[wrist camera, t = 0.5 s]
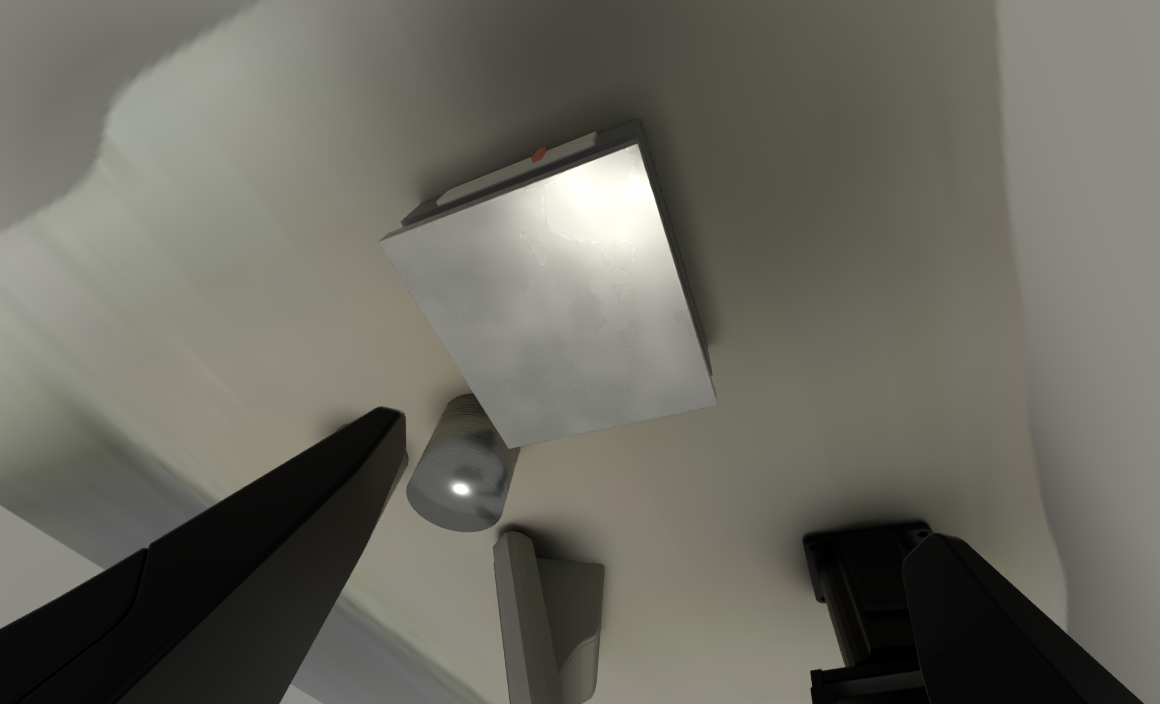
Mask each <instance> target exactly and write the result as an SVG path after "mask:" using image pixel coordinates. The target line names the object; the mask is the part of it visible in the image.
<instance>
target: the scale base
mask: <svg viewBox="0 0 1160 704" xmlns="http://www.w3.org/2000/svg"><path fill="white" fill-rule="evenodd" d="M635 138H638V139H639V142H640V146H641V149H642V152H643V156H644V159H645V162H646V165H647V169H648V172H649V175H650V179H651V182H652V185H653V188H654V192H655V195H656V198H657V201H658V205H659V208H660V211H661V215H662V218H663V221H664V224H665V228H666V231H667V234H668V238H669V241H670V244H671V247H672V251H673V254H674V257H675V261H676V264H677V267H678V270H679V274H680V277H681V280H682V283H683V287H684V290H685V293H686V297H687V300H688V303H689V306H690V310H691V313H692V316H693V320H694V323H695V326H696V329H697V333H698V336H699V339H700V343H701V346H702V349H703V352H704V356H705V359H706V362H707V365H708V369H709V372H710V375H712V369H711V363H710V358H709V352H708V347H707V343H706V340H705V337H704V333H703V330H702V327H701V323H700V320H699V317H698V313H697V310H696V307H695V303H694V300H693V296H692V293H691V290H690V286H689V283H688V280H687V276H686V273H685V270H684V266H683V263H682V259H681V256H680V253H679V249H678V246H677V243H676V239H675V236H674V233H673V229H672V226H671V222H670V219H669V216H668V212H667V209H666V206H665V202H664V199H663V196H662V192H661V189H660V186H659V182H658V179H657V175H656V172H655V169H654V165H653V162H652V159H651V155H650V152H649V149H648V145H647V142H646V138H645V135H644V132H643V128H642V125H641V122H640V118H637V119H634V120H631V121H629V122H626V123H624V124H621V125H619V126H616V127H614V128H611V129H609V130H606V131H604V132H601V133H599V134H597V132H596V131H595V132H593V133H590V134H588V135H585V136H583V137H580V138H578V139H575V140H573V141H570V142H567V143H565V144H562V145H560V146H557V147H555V148H552V149H550V150H546V147H542V148H540V149H537V151H536V152H535V153H534V155H533V156H532V157H530V158H527V159H525V160H522V161H520V162H517V163H515V164H512V165H510V166H507V167H505V168H502V169H500V170H497V171H494V172H492V173H489V174H487V175H484V176H482V177H479V178H477V179H474V180H472V181H469V182H467V183H464V184H462V185H459V186H457V187H454V188H452V189H449V190H448V191H447V192H446V193H445V194H444V195H442V196H439V197H437V198H434V199H432V200H429V201H427V202H424V203H421V204H420V205H419V206H418V207H417V208H416V209H414V210H413V211H412V212H411V213H410V214H409V215H408V216H407V217H405V218H404V219H403V220H402V221H401V224H402V225H403V227H405V226H408V225H411V224H413V223H416V222H419V221H421V220H424V219H426V218H429V217H432V216H434V215H437V214H439V213H442V212H445V211H447V210H450V209H452V208H455V207H458V206H460V205H463V204H466V203H468V202H471V201H473V200H476V199H479V198H481V197H484V196H486V195H489V194H492V193H494V192H497V191H499V190H502V189H505V188H507V187H510V186H513V185H515V184H518V183H520V182H523V181H526V180H528V179H531V178H533V177H536V176H539V175H541V174H544V173H546V172H549V171H552V170H554V169H557V168H559V167H562V166H565V165H567V164H570V163H573V162H575V161H578V160H580V159H583V158H586V157H588V156H591V155H593V154H596V153H599V152H601V151H604V150H606V149H609V148H612V147H614V146H617V145H620V144H622V143H625V142H627V141H630V140H633V139H635Z"/></svg>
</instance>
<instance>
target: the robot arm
mask: <svg viewBox="0 0 1160 704" xmlns="http://www.w3.org/2000/svg"><path fill="white" fill-rule="evenodd" d="M405 450H406V417H405V414H404V412H403V411H401V410H397V409H392V408H388V407H383V406H381V407H377V408H375V409H373V410H372V411H370V412H368V413H367V414H365V415H363V416H362V417H360V418H358V419H357V420H355V421H353V422H352V423H350V424H348V425H347V426H345V427H343V428H342V429H340V430H338V431H337V432H335V433H333V434H332V435H330V436H328V437H327V438H325V439H323V440H322V441H320V442H318V443H317V444H315V445H313V446H312V447H310V448H308V449H307V450H305V451H303V452H302V453H300V454H298V455H297V456H295V457H293V458H292V459H290V460H288V461H287V462H285V463H283V464H282V465H280V466H278V467H277V468H275V469H273V470H272V471H270V472H268V473H267V474H265V475H263V476H262V477H260V478H259V479H257V480H255V481H254V482H252V483H250V484H249V485H247V486H245V487H244V488H242V489H240V490H239V491H237V492H235V493H234V494H232V495H230V496H229V497H227V498H225V499H224V500H222V501H220V502H219V503H217V504H215V505H214V506H212V507H210V508H209V509H207V510H205V511H204V512H202V513H200V514H199V515H197V516H195V517H194V518H192V519H190V520H189V521H187V522H185V523H184V524H182V525H180V526H179V527H177V528H175V529H174V530H172V531H170V532H169V533H167V534H165V535H164V536H162V537H160V538H159V539H157V540H155V541H154V542H152V543H151V544H150V545H149V547H148V549H147V548H142V549H140V550H138V551H137V552H135V553H133V554H132V555H130V556H128V557H127V558H125V559H123V560H122V561H120V562H118V563H117V564H115V565H113V566H112V567H110V568H108V569H107V570H105V571H103V572H101V573H100V574H98V575H96V576H94V577H93V578H91V579H89V580H88V581H86V582H84V583H82V584H81V585H79V586H77V587H75V588H74V589H72V590H70V591H69V592H67V593H65V594H63V595H62V596H60V597H58V598H56V599H55V600H53V601H51V602H49V603H47V604H45V605H43V606H42V607H40V608H38V609H36V610H34V611H32V612H30V613H29V614H27V615H25V616H23V617H21V618H19V619H18V620H16V621H14V622H12V623H10V624H8V625H7V626H4V627H3V628H1V629H0V704H279V703H280V702H281V700H282V698H283V696H284V694H285V693H286V691H287V689H288V687H289V685H290V684H291V682H292V680H293V678H294V676H295V674H296V673H297V671H298V669H299V667H300V665H301V664H302V662H303V660H304V658H305V656H306V655H307V653H308V651H309V649H310V647H311V645H312V644H313V642H314V640H315V638H316V636H317V635H318V633H319V631H320V629H321V627H322V626H323V624H324V622H325V620H326V618H327V617H328V615H329V613H330V611H331V609H332V607H333V606H334V604H335V602H336V600H337V598H338V597H339V595H340V593H341V591H342V589H343V588H344V586H345V584H346V582H347V580H348V578H349V577H350V575H351V573H352V571H353V569H354V568H355V566H356V564H357V562H358V560H359V559H360V557H361V555H362V553H363V551H364V549H365V547H366V545H367V543H368V541H369V539H370V537H371V534H372V532H373V530H374V527H375V525H376V523H377V520H378V518H379V515H380V513H381V511H382V508H383V506H384V503H385V501H386V499H387V496H388V494H389V491H390V489H391V486H392V484H393V482H394V479H395V477H396V474H397V472H398V470H399V467H400V465H401V462H402V460H403V457H404V454H405ZM803 546H804V551H805V555H806V559H807V563H808V568H809V572H810V576H811V581H812V585H813V589H814V593H815V597H816V600H817V601H818V602H820V603H826V604H827V607H828V611H829V614H830V617H831V621H832V624H833V627H834V631H835V634H836V637H837V641H838V644H839V648H840V651H841V654H842V658H843V661H844V664H845V667H843V668H837V669H830V670H824V671H822V670H821V669H817V670H811V671H810V673H811V681H812V687H811V696H812V703H813V704H1144V703H1143V702H1142V701H1141V700H1139V699H1138V698H1137V697H1136V696H1135V695H1134V694H1133V693H1132V692H1130V691H1129V690H1128V689H1127V688H1126V687H1125V686H1124V685H1123V684H1122V683H1121V682H1119V681H1118V680H1117V679H1116V678H1115V677H1114V676H1113V675H1112V674H1111V673H1110V672H1108V671H1107V670H1106V669H1105V668H1104V667H1103V666H1102V665H1101V664H1099V663H1098V662H1097V661H1096V660H1095V659H1094V658H1093V657H1092V656H1091V655H1090V654H1089V653H1087V652H1086V651H1085V650H1084V649H1083V648H1082V647H1081V646H1079V644H1078V643H1076V642H1075V641H1074V640H1073V639H1072V638H1071V637H1070V636H1069V635H1068V634H1066V633H1065V632H1064V631H1063V630H1062V629H1061V628H1060V627H1059V626H1058V625H1057V624H1055V623H1054V622H1053V621H1052V620H1051V619H1050V618H1049V617H1048V616H1047V615H1045V614H1044V613H1043V612H1042V611H1041V610H1040V609H1039V608H1038V607H1037V606H1036V605H1034V604H1033V603H1032V602H1031V601H1030V600H1029V599H1028V598H1027V597H1026V596H1024V595H1023V594H1022V593H1021V592H1020V591H1019V590H1018V589H1017V588H1016V587H1015V586H1013V585H1012V584H1011V583H1010V582H1009V581H1008V580H1007V579H1006V578H1005V577H1004V576H1002V575H1001V574H1000V573H999V572H998V571H997V570H996V569H995V568H994V567H992V566H991V565H990V564H989V563H988V562H987V561H986V560H985V559H984V558H983V557H981V556H980V555H979V554H978V553H977V552H976V551H975V550H974V549H973V548H971V547H970V546H969V545H968V544H967V543H966V542H965V541H963V540H962V539H960V538H957V537H954V536H950V535H945V534H941V533H933V531H932V529H931V528H930V526H929V524H927V523H924V522H918V523H910V524H902V525H894V526H886V527H878V528H870V529H862V530H854V531H846V532H838V533H830V534H822V535H814V536H808V537H806V538H804V539H803Z"/></svg>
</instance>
